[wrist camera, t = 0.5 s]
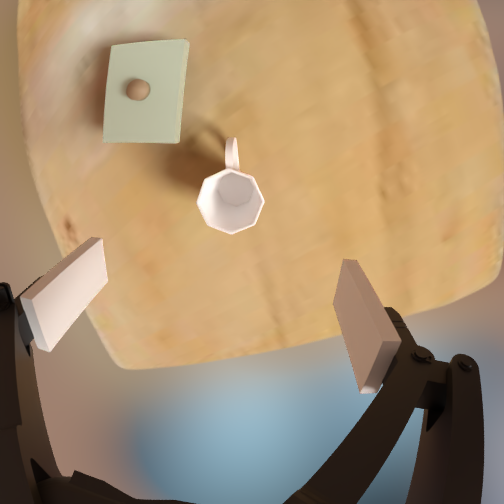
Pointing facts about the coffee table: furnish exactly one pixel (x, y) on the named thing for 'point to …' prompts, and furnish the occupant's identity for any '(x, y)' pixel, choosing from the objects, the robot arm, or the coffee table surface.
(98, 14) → the coffee table surface
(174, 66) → the lid
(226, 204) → the cup
